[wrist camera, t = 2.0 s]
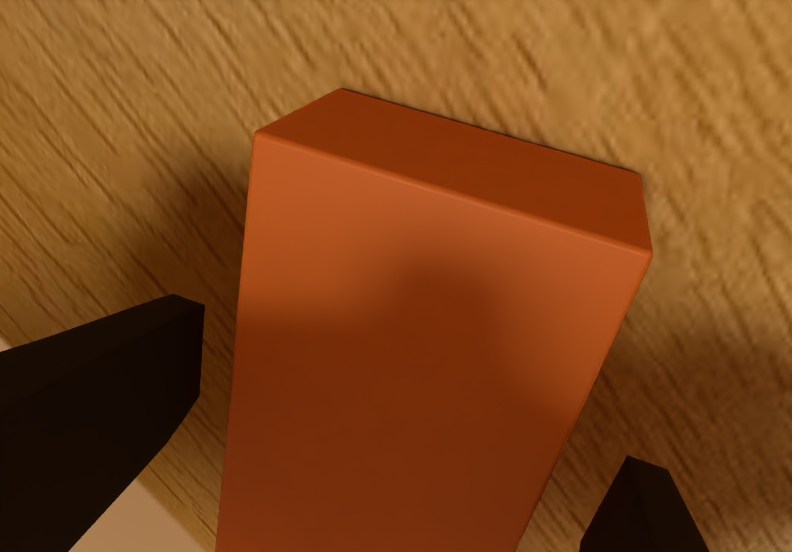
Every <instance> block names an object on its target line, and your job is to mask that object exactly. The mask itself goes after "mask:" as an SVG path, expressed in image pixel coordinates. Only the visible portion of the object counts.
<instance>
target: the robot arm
mask: <svg viewBox="0 0 792 552" xmlns="http://www.w3.org/2000/svg"><path fill="white" fill-rule="evenodd" d="M204 311H205V305H204V304H201V303H198V302H195V301H192V300H190V299H187V298H184V297H181V296H178V295H175V294H171V295H167V296H164V297H160V298H157V299H154V300H151V301H148V302H146V303H143V304H140V305H137V306H134V307H131V308H129V309H126V310H123V311H120V312H117V313H115V314H112V315H109V316H106V317H104V318H101V319H98V320H95V321H92V322H89V323H87V324H84V325H81V326H78V327H75V328H72V329H69V330H67V331H64V332H61V333H58V334H55V335H52V336H49V337H46V338H43V339H40V340H37V341H34V342H31V343H27V344H24V345H21V346H18V347H15V348H11V349H8V350H5V351H2V352H0V552H68V551H69V550H70V549H71V548H72V547H73V546H74V545H75V543H76V542H77V541H78V540H79V539H80V538H81V537H82V536H83V535H84V534H85V533H86V531H87V530H88V529H89V528H90V527H91V526H92V525H93V524H94V523H95V522H96V520H97V519H98V518H99V517H100V516H101V515H102V514H103V513H104V512H105V511H106V509H107V508H108V507H109V506H110V505H111V504H112V503H113V502H114V501H115V500H116V499H117V498H118V497H119V495H120V494H121V493H122V492H123V491H124V490H125V489H126V488H127V487H128V486H129V485H130V483H131V482H132V481H133V480H134V479H135V478H136V477H137V476H138V475H139V474H140V472H141V471H142V470H143V469H144V468H145V467H146V466H147V465H148V464H149V462H150V461H151V460H152V459H153V458H154V457H155V456H156V455H157V454H158V452H159V451H160V450H161V449H162V448H163V447H164V446H165V444H166V443H167V442H168V441H169V439H170V438H171V436H172V435H173V434H174V432H175V431H176V429H177V428H178V427H179V425H180V424H181V423H182V421H183V420H184V418H185V417H186V415H187V414H188V412H189V411H190V409H191V408H192V406H193V405H194V403H195V402H196V400H197V399H198V397H199V395H200V378H201V362H202V345H203V328H204ZM579 552H709V550H708V548H707V546H706V544H705V542H704V540H703V538H702V536H701V534H700V532H699V530H698V528H697V526H696V524H695V522H694V520H693V518H692V516H691V514H690V512H689V511H688V509H687V507H686V505H685V503H684V501H683V499H682V497H681V495H680V493H679V491H678V489H677V487H676V485H675V483H674V481H673V479H672V477H671V475H670V473H669V471H668V469H665V468H662V467H659V466H657V465H654V464H651V463H648V462H645V461H643V460H640V459H637V458H634V457H631V456H629V455H627V457H626V458H625V460H624V462H623V464H622V466H621V468H620V469H619V471H618V473H617V475H616V477H615V479H614V480H613V482H612V484H611V486H610V488H609V490H608V492H607V493H606V495H605V497H604V499H603V501H602V503H601V504H600V506H599V508H598V510H597V512H596V514H595V516H594V517H593V519H592V521H591V523H590V525H589V527H588V528H587V530H586V532H585V534H584V536H583V538H582V540H581V543H580V550H579Z"/></svg>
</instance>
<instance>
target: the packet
mask: <svg viewBox="0 0 792 552" xmlns="http://www.w3.org/2000/svg"><path fill="white" fill-rule="evenodd" d="M652 257H653V251H652V245H651V239H650V233H649V227H648V221H647V215H646V209H645V203H644V197H643V191H642V185H641V179H640V176H639V175H638V174H637V173H633V172H630V171H626V170H623V169H619V168H616V167H612V166H609V165H605V164H602V163H598V162H595V161H591V160H588V159H584V158H581V157H578V156H574V155H571V154H567V153H564V152H560V151H557V150H553V149H550V148H546V147H543V146H539V145H536V144H532V143H529V142H525V141H522V140H518V139H515V138H511V137H508V136H504V135H501V134H497V133H494V132H490V131H487V130H483V129H480V128H476V127H473V126H469V125H466V124H462V123H459V122H455V121H452V120H448V119H445V118H441V117H438V116H434V115H431V114H427V113H424V112H420V111H417V110H413V109H410V108H406V107H403V106H399V105H396V104H392V103H389V102H385V101H382V100H378V99H375V98H371V97H368V96H364V95H361V94H357V93H354V92H350V91H347V90H343V89H337V90H335V91H333V92H331V93H329V94H327V95H325V96H323V97H321V98H319V99H317V100H316V101H314V102H312V103H310V104H308V105H306V106H304V107H302V108H300V109H298V110H296V111H294V112H292V113H290V114H288V115H286V116H284V117H282V118H281V119H279V120H277V121H275V122H273V123H271V124H269V125H267V126H265V127H263V128H261V129H259V130H257V131H256V132H255V134H254V136H253V144H252V155H251V166H250V177H249V188H248V199H247V210H246V221H245V232H244V243H243V254H242V265H241V276H240V287H239V298H238V308H237V319H236V330H235V341H234V352H233V363H232V374H231V385H230V396H229V407H228V418H227V429H226V440H225V451H224V462H223V473H222V484H221V495H220V505H219V516H218V527H217V538H216V549H215V552H515V551H516V549H517V547H518V545H519V542H520V540H521V538H522V536H523V534H524V532H525V530H526V527H527V525H528V523H529V521H530V519H531V517H532V515H533V512H534V510H535V508H536V506H537V504H538V502H539V500H540V497H541V495H542V493H543V491H544V489H545V487H546V485H547V482H548V480H549V478H550V476H551V474H552V472H553V470H554V467H555V465H556V463H557V461H558V459H559V457H560V455H561V452H562V450H563V448H564V446H565V444H566V442H567V440H568V437H569V435H570V433H571V431H572V429H573V427H574V425H575V422H576V420H577V418H578V416H579V414H580V412H581V410H582V407H583V405H584V403H585V401H586V399H587V397H588V395H589V392H590V390H591V388H592V386H593V384H594V382H595V380H596V377H597V375H598V373H599V371H600V369H601V367H602V365H603V362H604V360H605V358H606V356H607V354H608V352H609V349H610V347H611V345H612V343H613V341H614V339H615V337H616V334H617V332H618V330H619V328H620V326H621V324H622V322H623V319H624V317H625V315H626V313H627V311H628V309H629V307H630V304H631V302H632V300H633V298H634V296H635V294H636V292H637V289H638V287H639V285H640V283H641V281H642V279H643V277H644V274H645V272H646V270H647V268H648V266H649V264H650V262H651V259H652Z"/></svg>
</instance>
